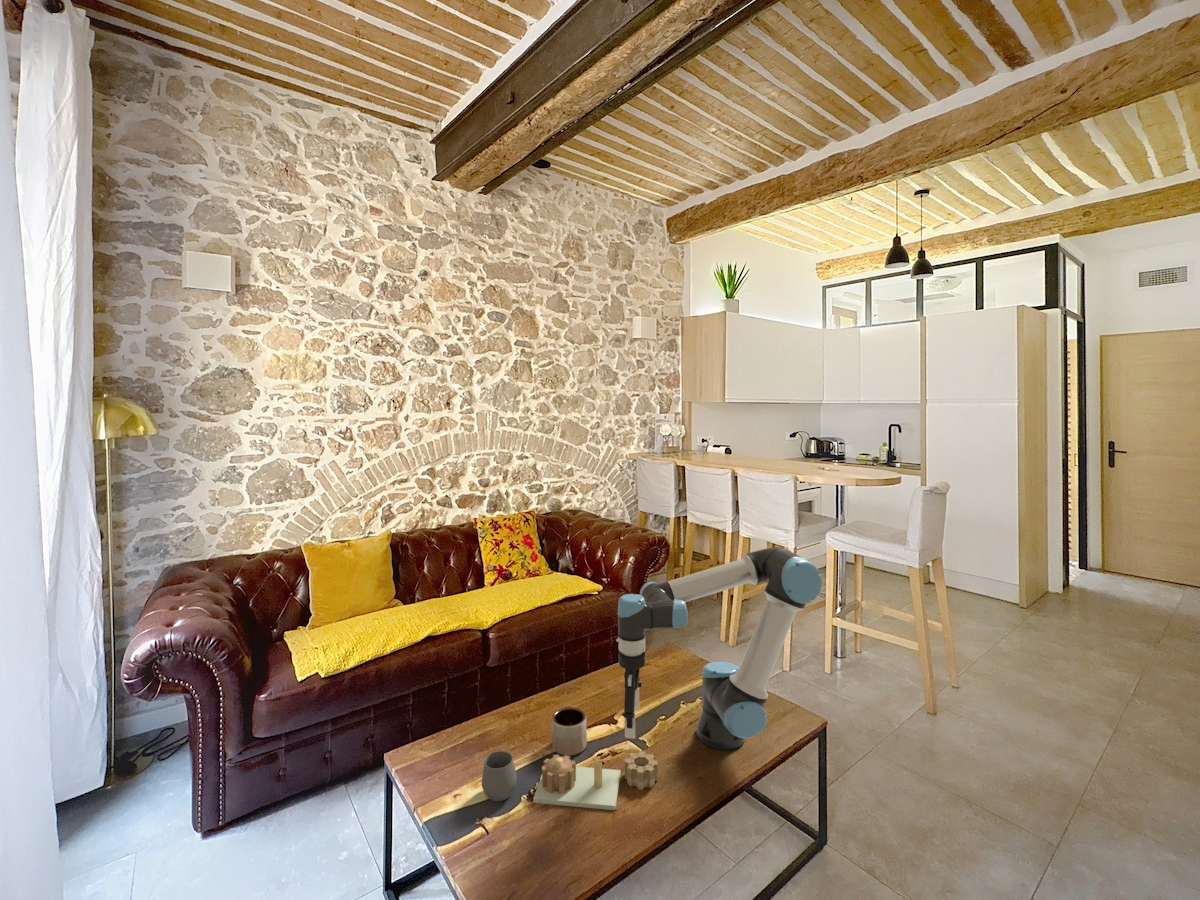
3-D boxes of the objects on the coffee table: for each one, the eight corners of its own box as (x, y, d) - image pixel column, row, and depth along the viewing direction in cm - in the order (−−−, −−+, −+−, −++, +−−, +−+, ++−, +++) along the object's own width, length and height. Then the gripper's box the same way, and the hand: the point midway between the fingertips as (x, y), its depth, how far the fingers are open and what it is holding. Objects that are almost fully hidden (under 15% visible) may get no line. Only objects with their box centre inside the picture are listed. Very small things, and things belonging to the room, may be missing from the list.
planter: (582, 759, 163) (582, 728, 162) (547, 754, 165) (547, 724, 164) (590, 737, 173) (590, 708, 172) (557, 733, 175) (556, 705, 175)
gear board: (620, 774, 156) (620, 748, 155) (615, 810, 142) (615, 782, 141) (545, 767, 159) (545, 742, 158) (533, 802, 145) (532, 775, 144)
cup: (500, 812, 142) (499, 775, 141) (474, 798, 147) (473, 763, 146) (524, 790, 150) (523, 755, 149) (498, 777, 155) (497, 744, 154)
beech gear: (658, 768, 158) (658, 752, 158) (657, 791, 149) (657, 773, 148) (626, 766, 159) (626, 750, 159) (623, 788, 150) (623, 771, 150)
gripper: (623, 631, 165) (624, 698, 167) (612, 671, 141) (613, 749, 143) (648, 632, 164) (648, 699, 166) (641, 673, 139) (642, 751, 141)
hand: (632, 722), depth 154 cm, fingers open, 13 cm apart
